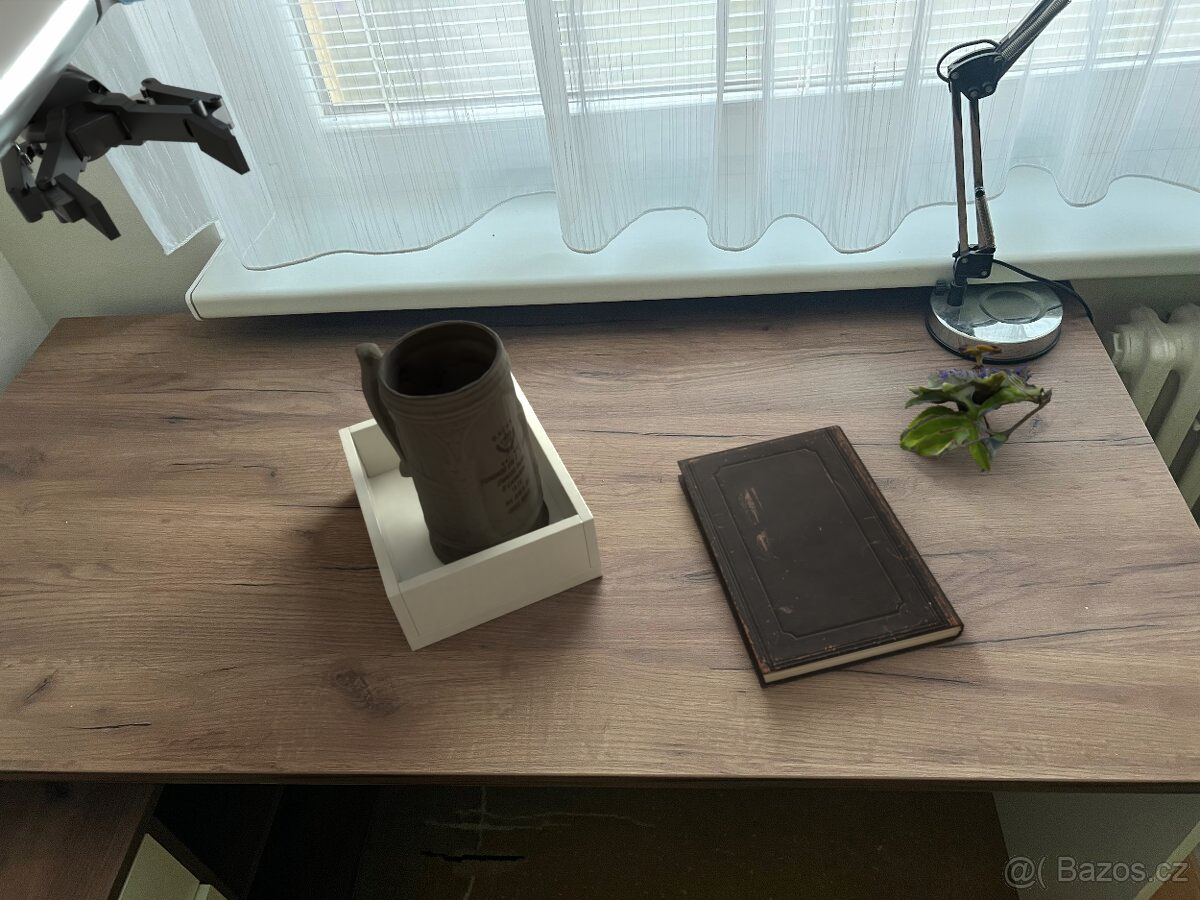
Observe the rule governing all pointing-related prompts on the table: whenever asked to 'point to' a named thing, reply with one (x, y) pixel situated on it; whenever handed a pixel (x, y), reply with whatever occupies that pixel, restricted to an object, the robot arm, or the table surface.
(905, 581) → the hardcover book
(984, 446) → the passion flower
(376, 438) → the open storage bin
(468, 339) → the beer stein
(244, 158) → the robot arm
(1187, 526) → the table surface
